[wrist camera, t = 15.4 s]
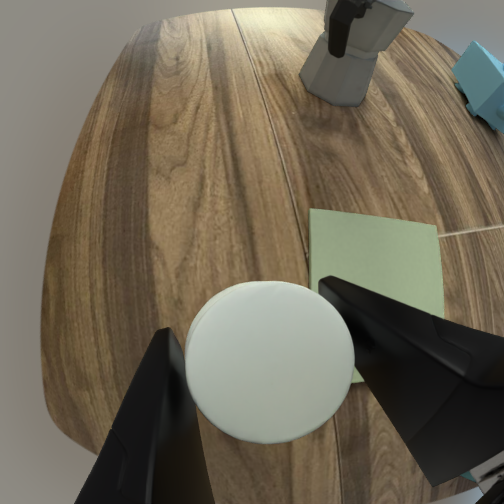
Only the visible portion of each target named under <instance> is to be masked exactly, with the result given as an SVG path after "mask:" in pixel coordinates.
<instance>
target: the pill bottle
mask: <svg viewBox="0 0 504 504" xmlns="http://www.w3.org/2000/svg"><path fill="white" fill-rule="evenodd" d="M354 362H355V356H354V347H353V342H352V338H351V335H350V332H349V330H348V328H347V326H346V324H345V322H344V320H343V318H342V317H341V315H340V314H339V313H338V311H337V310H336V309H335V308H334V307H333V306H332V305H331V304H330V303H329V302H328V301H327V300H326V299H324V298H323V297H322V296H320V295H319V294H317V293H316V292H314V291H312V290H310V289H308V288H306V287H303V286H300V285H297V284H293V283H288V282H281V281H253V282H246V283H240V284H237V285H234V286H231V287H228V288H226V289H224V290H222V291H221V292H219V293H217V294H216V295H215V296H213V297H212V298H211V299H210V300H209V301H208V302H207V303H206V304H205V305H204V306H203V307H202V309H201V310H200V311H199V312H198V314H197V315H196V317H195V319H194V320H193V322H192V324H191V327H190V329H189V332H188V335H187V339H186V344H185V371H186V379H187V384H188V388H189V391H190V394H191V396H192V399H193V401H194V402H195V404H196V405H197V407H198V408H199V410H200V411H201V413H202V414H203V415H204V416H205V417H206V418H207V419H208V420H209V421H210V422H211V423H212V424H213V425H214V426H215V427H217V428H218V429H220V430H221V431H222V432H224V433H226V434H228V435H230V436H232V437H234V438H236V439H239V440H242V441H246V442H251V443H256V444H278V443H285V442H289V441H292V440H296V439H299V438H301V437H303V436H306V435H308V434H309V433H311V432H313V431H315V430H316V429H318V428H319V427H321V426H322V425H323V424H324V423H325V422H327V421H328V420H329V419H330V418H331V417H332V416H333V414H334V413H335V412H336V411H337V410H338V408H339V407H340V405H341V404H342V402H343V401H344V399H345V397H346V395H347V393H348V390H349V388H350V385H351V382H352V378H353V373H354Z"/></svg>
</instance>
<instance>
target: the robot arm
mask: <svg viewBox="0 0 504 504" xmlns="http://www.w3.org/2000/svg"><path fill="white" fill-rule="evenodd" d="M318 294H319V295H320V296H322V297H323V298H324V299H326V300H327V301H328V302H329V303H330V304H331V305H332V306H333V307H334V308H335V309H336V310H337V311H338V313H339V314H340V315H341V317H342V318H343V320H344V322H345V324H346V326H347V328H348V330H349V332H350V335H351V338H352V342H353V347H354V356H355V362H354V366H355V368H356V369H357V371H358V372H359V374H360V375H361V377H362V378H363V380H364V381H365V383H366V384H367V386H368V387H369V389H370V390H371V392H372V393H373V395H374V396H375V398H376V399H377V401H378V402H379V404H380V405H381V407H382V408H383V410H384V411H385V413H386V415H387V416H388V418H389V419H390V421H391V422H392V424H393V425H394V427H395V428H396V430H397V432H398V433H399V435H400V436H401V438H402V439H403V441H404V443H406V446H407V447H408V449H409V451H410V452H411V454H412V455H413V457H414V459H415V460H416V462H417V463H418V465H419V467H420V468H421V470H422V471H423V473H424V475H425V476H426V478H427V480H428V481H429V483H430V484H431V486H432V487H434V486H437V485H439V484H442V483H444V482H446V481H448V480H451V479H453V478H455V477H457V476H459V475H461V474H463V473H465V472H467V471H469V472H470V473H471V475H472V476H473V478H474V479H475V481H476V482H477V485H478V486H479V488H480V490H481V491H482V493H483V494H484V495H483V496H482V497H481V498H480V499H479V500H478V501H477V502H476V503H475V504H504V337H500V336H497V335H493V334H490V333H486V332H483V331H479V330H476V329H472V328H469V327H466V326H463V325H460V324H457V323H454V322H451V321H449V320H446V319H443V318H441V317H438V316H436V315H433V314H432V315H431V314H430V313H428V312H425V311H423V310H420V309H418V308H415V307H412V306H410V305H407V304H405V303H402V302H400V301H397V300H395V299H392V298H389V297H387V296H384V295H382V294H379V293H377V292H374V291H371V290H369V289H366V288H364V287H361V286H359V285H356V284H353V283H351V282H348V281H346V280H343V279H340V278H338V277H335V276H332V275H329V276H326V277H324V278H321V279H320V280H319V281H318ZM111 428H112V429H110V431H109V433H108V436H107V438H106V441H105V443H104V445H103V447H102V450H101V452H100V454H99V456H98V458H97V461H96V462H95V465H94V466H93V468H92V470H91V472H90V474H89V476H88V478H87V480H86V482H85V484H84V486H83V488H82V489H81V491H80V493H79V495H78V497H77V499H76V501H75V503H74V504H215V501H214V497H213V493H212V489H211V484H210V480H209V476H208V471H207V466H206V462H205V457H204V452H203V447H202V441H201V436H200V430H199V424H198V418H197V412H196V406H195V402H194V401H193V399H192V396H191V394H190V391H189V388H188V384H187V379H186V371H185V360H184V356H183V352H182V348H181V346H180V344H179V342H178V340H177V338H176V336H175V335H174V333H173V331H172V329H171V328H169V327H167V328H163V329H159V330H157V331H156V332H155V334H154V336H153V338H152V340H151V342H150V344H149V346H148V348H147V350H146V352H145V355H144V357H143V359H142V361H141V363H140V365H139V367H138V369H137V371H136V373H135V375H134V378H133V380H132V382H131V384H130V386H129V388H128V390H127V393H126V395H125V397H124V399H123V402H122V404H121V406H120V408H119V410H118V413H117V415H116V417H115V420H114V422H113V424H112V427H111Z"/></svg>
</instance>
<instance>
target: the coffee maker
mask: <svg viewBox="0 0 504 504" xmlns="http://www.w3.org/2000/svg"><path fill="white" fill-rule="evenodd" d="M413 15H414V12H413V11H412V10H411V8H410V7H409V6H408V5H407V4H406V3H405V2H404V1H403V0H327V2H326V9H325V16H324V23H325V26H324V30H325V32H323V33H322V34H321V35H320V36H319V38H318V40H317V42H316V43H315V45H314V47H313V49H312V51H311V52H310V54H309V56H308V58H307V60H306V62H305V63H304V65H303V67H302V69H301V71H300V73H299V76H300V78H301V80H302V82H303V84H304V85H305V87H306V89H307V91H308V92H310V93H312V94H313V95H315V96H317V97H319V98H321V99H323V100H324V101H326V102H328V103H330V104H331V105H333V106H351V107H358V106H359V105H360V103H361V102H362V100H363V99H364V97H365V95H366V93H367V90H368V87H369V83H370V80H371V77H372V74H373V71H374V67H375V64H376V61H377V57H378V53H379V51H385V50H386V49H387V48H388V46H389V45H390V44H391V43H392V41H393V40H394V39H395V37H396V36H397V35H398V34H399V32H400V31H401V30H402V29H403V27H404V26H405V25H406V24H407V22H408V21H409V20H410V19H411V17H412V16H413Z"/></svg>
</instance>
